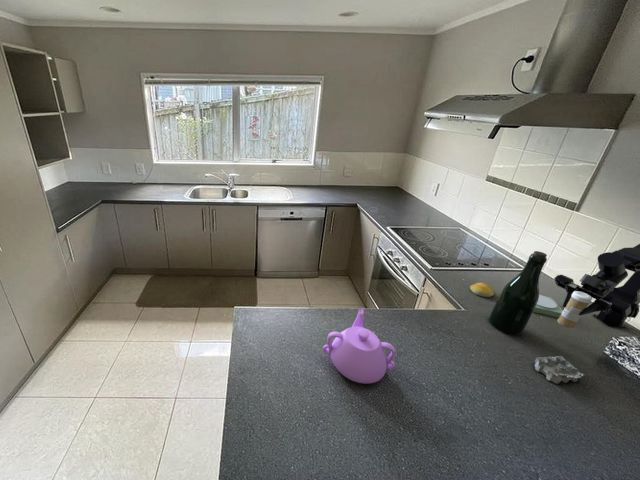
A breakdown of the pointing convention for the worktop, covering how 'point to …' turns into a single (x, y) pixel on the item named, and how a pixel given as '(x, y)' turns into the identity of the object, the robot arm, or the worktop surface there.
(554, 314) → the scale
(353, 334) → the teapot
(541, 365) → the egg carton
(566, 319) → the sprinkles bottle
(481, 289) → the bread roll
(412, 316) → the worktop surface
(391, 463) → the worktop surface
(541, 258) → the beer bottle
